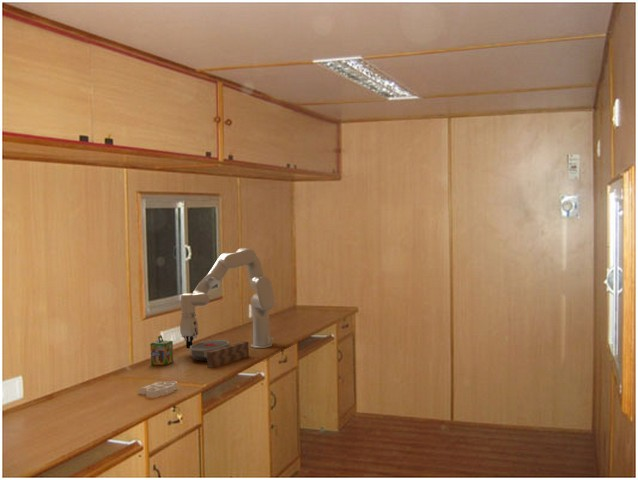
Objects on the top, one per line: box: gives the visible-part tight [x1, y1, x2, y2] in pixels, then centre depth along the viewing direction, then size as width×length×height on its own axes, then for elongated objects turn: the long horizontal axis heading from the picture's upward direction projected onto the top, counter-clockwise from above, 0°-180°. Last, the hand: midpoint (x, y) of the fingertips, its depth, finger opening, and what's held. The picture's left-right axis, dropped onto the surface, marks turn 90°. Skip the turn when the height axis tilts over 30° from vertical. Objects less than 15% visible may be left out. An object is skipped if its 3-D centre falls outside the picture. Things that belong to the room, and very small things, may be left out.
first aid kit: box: [189, 339, 230, 362], centre depth 377 cm, size 18×8×25 cm
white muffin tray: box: [137, 380, 178, 399], centre depth 310 cm, size 3×18×15 cm
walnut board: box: [206, 341, 250, 369], centre depth 367 cm, size 30×3×8 cm, turn 147°
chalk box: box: [149, 334, 174, 366], centre depth 366 cm, size 9×9×15 cm
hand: (189, 347), depth 385 cm, fingers closed
